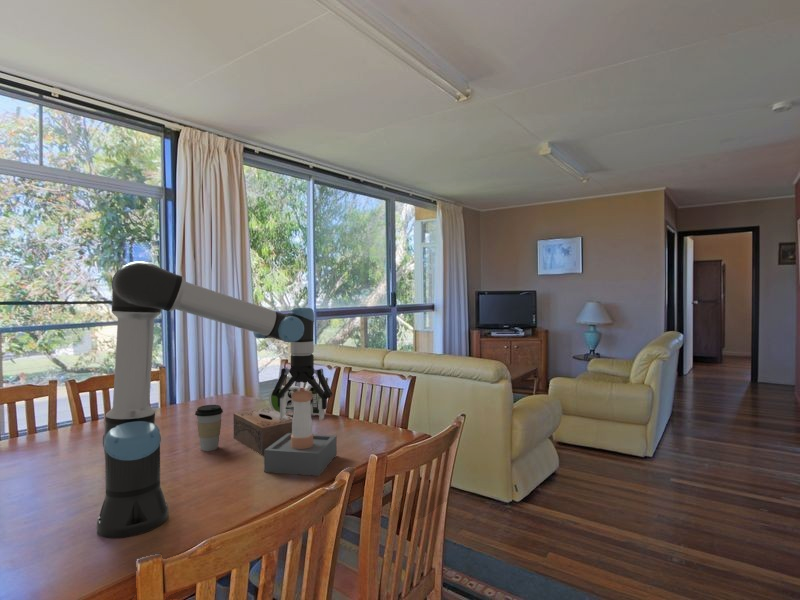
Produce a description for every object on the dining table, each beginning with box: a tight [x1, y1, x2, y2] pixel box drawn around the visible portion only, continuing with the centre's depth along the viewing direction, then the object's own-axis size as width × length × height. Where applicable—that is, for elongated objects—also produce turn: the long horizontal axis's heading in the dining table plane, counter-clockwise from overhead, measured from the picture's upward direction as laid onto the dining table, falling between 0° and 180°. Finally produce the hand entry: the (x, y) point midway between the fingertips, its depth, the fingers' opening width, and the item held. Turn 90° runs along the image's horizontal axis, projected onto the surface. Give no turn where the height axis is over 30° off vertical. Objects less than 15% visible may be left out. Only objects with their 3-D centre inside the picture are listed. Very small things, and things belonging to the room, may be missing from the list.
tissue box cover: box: [233, 407, 293, 456], centre depth 172 cm, size 26×14×10 cm, turn 42°
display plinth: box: [263, 433, 338, 477], centre depth 150 cm, size 18×18×7 cm
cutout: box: [268, 384, 321, 416], centre depth 210 cm, size 15×3×25 cm
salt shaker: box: [291, 387, 314, 449], centre depth 150 cm, size 7×7×19 cm
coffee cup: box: [194, 404, 224, 452], centre depth 165 cm, size 9×9×15 cm
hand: (302, 417), depth 150 cm, fingers open, 13 cm apart
